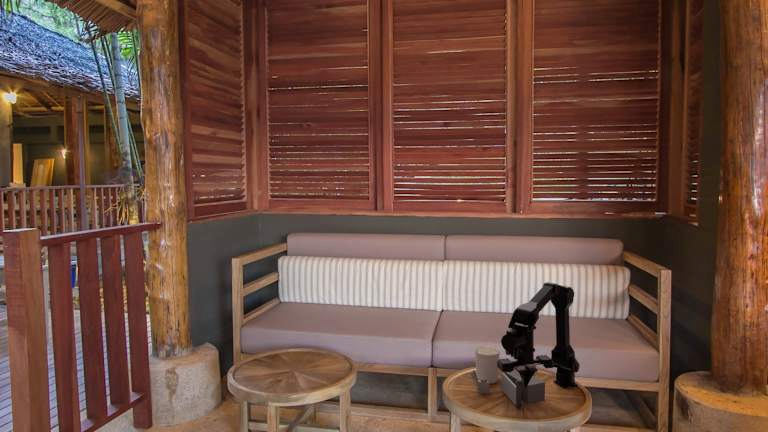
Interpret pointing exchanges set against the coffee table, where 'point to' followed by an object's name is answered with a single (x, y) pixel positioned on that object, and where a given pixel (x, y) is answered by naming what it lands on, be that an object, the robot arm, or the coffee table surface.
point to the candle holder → (487, 363)
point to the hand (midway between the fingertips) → (525, 387)
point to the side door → (512, 390)
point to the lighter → (481, 383)
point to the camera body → (529, 388)
